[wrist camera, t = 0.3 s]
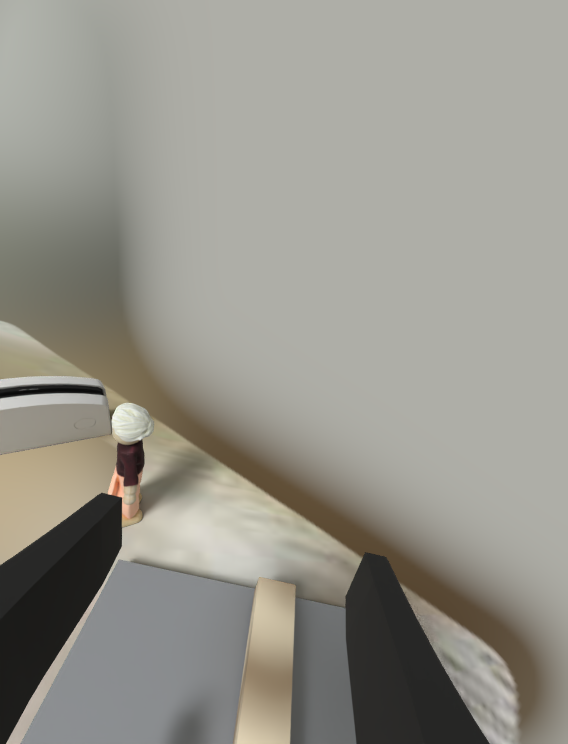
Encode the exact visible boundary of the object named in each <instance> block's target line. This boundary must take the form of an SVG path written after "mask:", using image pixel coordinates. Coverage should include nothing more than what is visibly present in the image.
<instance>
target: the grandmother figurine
mask: <svg viewBox="0 0 568 744" xmlns="http://www.w3.org/2000/svg"><path fill="white" fill-rule="evenodd" d="M153 430H154V421H153V420H152V418H151V417H150V415H149V413H148V411H147V410H146V409H144V408H143V407H140V406H138V405H136V404H133V403H125V404H122V405H119V406H118V407H117V408H116V410H115V412H114V414H113V416H112V434H113V437H114V439H115V440H116V441H117V442H118V445H117V463H116V468H115V472H114V474H113V477H112V480H111V484H110V487H109V491H108V494H109V495H114V496H118V497H122V527H125V526H129V525H132V524H135V523H138V522H139V521H141V519H142V517H143V515H142V511H141V510H140V509H139V503H140V501H141V499H142V495H141V493H140V482H141V478H142V472H143V467H144V450H143V441H142V439H143V438H144V437H148V436H150V435H151V434H152V433H153Z"/></svg>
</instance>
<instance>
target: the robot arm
mask: <svg viewBox="0 0 568 744" xmlns="http://www.w3.org/2000/svg"><path fill="white" fill-rule="evenodd" d="M121 547H122V497H118V496H114V495H109V494H105V493H101V494H99V495H97V496H96V497H95V498H94V499H92V500H91V501H89V502H88V503H87V504H85V505H84V506H83V507H81V508H80V509H79V510H77V511H76V512H75V513H73V514H72V515H71V516H69V517H68V518H67V519H65V520H64V521H63V522H61V523H60V524H58V525H57V526H56V527H54V528H53V529H52V530H50V531H49V532H47V533H46V534H45V535H43V536H42V537H40V538H39V539H38V540H36V541H35V542H33V543H32V544H31V545H29V546H28V547H26V548H25V549H23V550H22V551H21V552H19V553H18V554H16V555H15V556H13V557H12V558H10V559H9V560H7V561H6V562H5V563H3V564H2V565H0V744H6V742H7V741H8V739H9V737H10V735H11V733H12V731H13V730H14V728H15V726H16V724H17V722H18V720H19V719H20V717H21V715H22V713H23V711H24V709H25V708H26V706H27V704H28V702H29V700H30V699H31V697H32V695H33V694H34V692H35V690H36V689H37V687H38V685H39V684H40V682H41V680H42V679H43V677H44V675H45V674H46V672H47V671H48V669H49V667H50V666H51V664H52V663H53V661H54V660H55V658H56V657H57V655H58V653H59V652H60V650H61V649H62V647H63V646H64V644H65V642H66V641H67V639H68V638H69V636H70V635H71V633H72V632H73V630H74V628H75V627H76V625H77V624H78V622H79V621H80V619H81V617H82V616H83V614H84V613H85V611H86V610H87V608H88V606H89V605H90V603H91V602H92V600H93V599H94V597H95V595H96V594H97V592H98V591H99V589H100V587H101V586H102V584H103V582H104V580H105V578H106V576H107V575H108V573H109V571H110V569H111V567H112V565H113V563H114V561H115V559H116V557H117V555H118V553H119V551H120V549H121ZM346 646H347V656H348V666H349V677H350V686H351V696H352V705H353V715H354V725H355V734H356V744H490V743H489V742H488V740H487V739H486V737H485V736H484V734H483V733H482V731H481V730H480V728H479V726H478V725H477V723H476V722H475V720H474V718H473V717H472V715H471V713H470V712H469V710H468V708H467V707H466V705H465V704H464V702H463V700H462V699H461V697H460V695H459V693H458V692H457V690H456V688H455V687H454V685H453V683H452V682H451V680H450V678H449V676H448V675H447V673H446V671H445V669H444V668H443V666H442V664H441V662H440V661H439V659H438V657H437V655H436V653H435V651H434V650H433V648H432V646H431V644H430V642H429V640H428V638H427V637H426V635H425V633H424V631H423V629H422V627H421V625H420V624H419V622H418V620H417V618H416V616H415V614H414V612H413V610H412V608H411V606H410V604H409V602H408V600H407V598H406V596H405V594H404V592H403V590H402V588H401V586H400V584H399V582H398V580H397V578H396V576H395V574H394V572H393V570H392V568H391V566H390V564H389V561H388V560H387V558H386V557H384V556H379V555H375V554H371V553H366V552H365V554H364V556H363V559H362V561H361V563H360V565H359V568H358V570H357V572H356V574H355V577H354V579H353V581H352V584H351V586H350V588H349V590H348V593H347V595H346Z"/></svg>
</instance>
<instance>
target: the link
mask: <svg viewBox="0 0 568 744" xmlns="http://www.w3.org/2000/svg"><path fill="white" fill-rule="evenodd" d="M295 590H296V585H294V584H290V583H285V582H280V581H276V580H271V579H266V578H262V577H259V579H258V582H257V585H256V588H255V591H254V598H253V605H252V612H251V619H250V626H249V633H248V640H247V647H246V654H245V661H244V668H243V675H242V682H241V689H240V696H239V703H238V711H237V718H236V725H235V732H234V739H233V744H290V729H291V701H292V673H293V646H294V618H295Z"/></svg>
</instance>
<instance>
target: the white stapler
mask: <svg viewBox="0 0 568 744" xmlns="http://www.w3.org/2000/svg"><path fill="white" fill-rule="evenodd" d="M109 434H111V420H110V413H109V405H108V399H107V397H106V391H105V388H104V386H103V384H102V382H101V381H100V380H98V379H92V378H83V377H69V376H36V377H20V378H10V379H1V380H0V455H2V454H8V453H13V452H19V451H25V450H30V449H36V448H41V447H47V446H52V445H58V444H63V443H69V442H74V441H79V440H85V439H90V438H96V437H98V436H104V435H109Z"/></svg>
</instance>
